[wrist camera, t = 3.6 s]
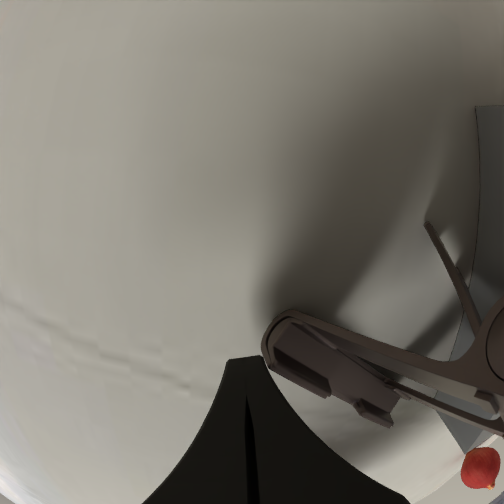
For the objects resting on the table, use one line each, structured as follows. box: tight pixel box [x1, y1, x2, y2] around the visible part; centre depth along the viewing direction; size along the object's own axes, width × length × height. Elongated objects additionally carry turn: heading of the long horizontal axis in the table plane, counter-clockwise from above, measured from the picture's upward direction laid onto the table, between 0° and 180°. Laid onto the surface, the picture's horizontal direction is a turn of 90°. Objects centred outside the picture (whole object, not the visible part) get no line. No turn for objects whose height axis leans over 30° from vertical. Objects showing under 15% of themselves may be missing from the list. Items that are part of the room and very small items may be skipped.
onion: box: [461, 447, 500, 490], centre depth 17 cm, size 6×6×8 cm
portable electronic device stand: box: [261, 221, 504, 439], centre depth 7 cm, size 9×8×8 cm
